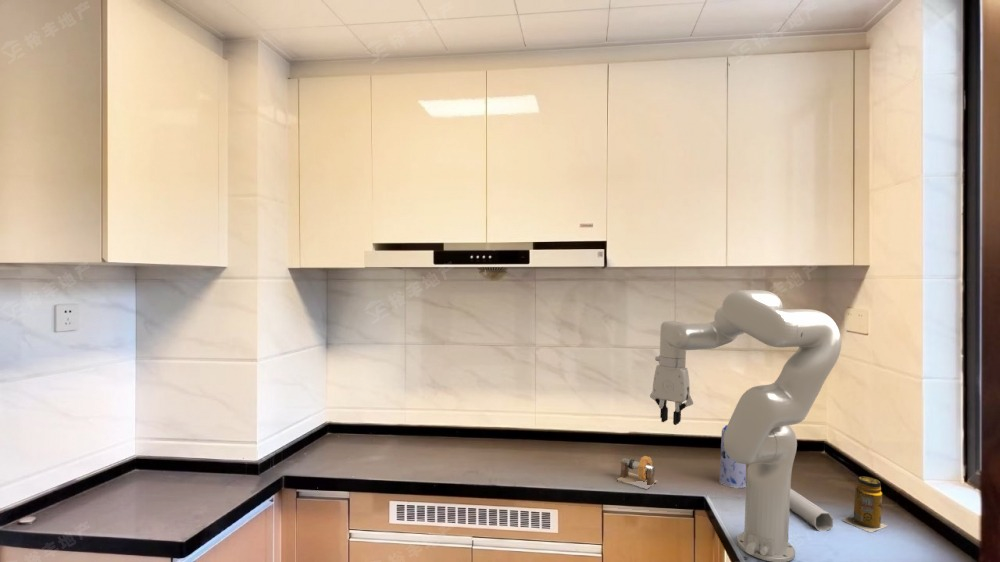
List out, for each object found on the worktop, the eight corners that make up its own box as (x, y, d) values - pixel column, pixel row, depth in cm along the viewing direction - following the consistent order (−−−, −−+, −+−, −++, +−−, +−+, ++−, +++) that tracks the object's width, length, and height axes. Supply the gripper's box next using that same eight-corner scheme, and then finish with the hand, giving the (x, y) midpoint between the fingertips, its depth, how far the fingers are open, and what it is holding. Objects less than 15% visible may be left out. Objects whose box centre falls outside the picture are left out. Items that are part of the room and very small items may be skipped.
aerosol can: (716, 477, 171) (718, 416, 171) (742, 479, 170) (744, 418, 170) (722, 487, 164) (724, 423, 163) (749, 489, 162) (751, 425, 162)
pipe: (650, 476, 162) (650, 466, 162) (621, 467, 168) (621, 458, 168) (654, 473, 164) (655, 464, 164) (625, 465, 171) (625, 456, 171)
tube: (758, 478, 162) (812, 516, 137) (774, 472, 162) (830, 509, 138) (763, 494, 162) (817, 535, 137) (778, 489, 163) (836, 528, 138)
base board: (646, 490, 160) (647, 472, 160) (617, 480, 167) (617, 463, 166) (657, 482, 166) (658, 465, 166) (628, 473, 173) (629, 457, 173)
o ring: (643, 482, 162) (643, 461, 161) (637, 480, 163) (638, 459, 163) (652, 476, 167) (652, 455, 167) (646, 474, 168) (647, 454, 168)
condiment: (887, 526, 141) (889, 482, 141) (871, 533, 137) (873, 488, 137) (858, 514, 147) (860, 472, 147) (841, 521, 143) (843, 477, 143)
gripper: (641, 360, 161) (639, 419, 162) (695, 367, 151) (692, 431, 151) (651, 357, 167) (649, 414, 168) (704, 364, 156) (701, 425, 157)
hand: (670, 421), depth 159 cm, fingers open, 3 cm apart
